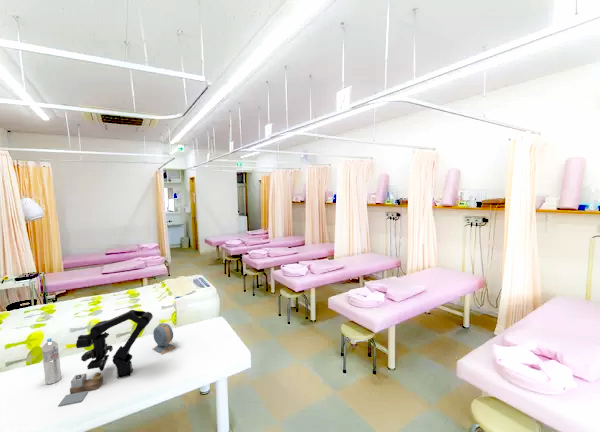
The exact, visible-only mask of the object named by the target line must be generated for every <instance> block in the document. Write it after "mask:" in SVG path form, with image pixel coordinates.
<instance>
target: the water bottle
mask: <svg viewBox="0 0 600 432" xmlns="http://www.w3.org/2000/svg"><path fill="white" fill-rule="evenodd" d="M41 352H42V360H43V362H42V363H43V372H44V380H45V381H44V382H45V384H46V385H53V384H55V383H57V382H59V381H60V380H61V379H62V369H61V361H60V360H61V359H60V354H59V353H60V352H59V343H58V342H56V341H54V340H52V338H48V339H46V342H45V343H44V345H43V346H42V347H41Z"/></svg>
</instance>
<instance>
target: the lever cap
mask: <svg viewBox="0 0 600 432" xmlns="http://www.w3.org/2000/svg"><path fill="white" fill-rule="evenodd" d="M87 380H88V379H87V373H81V374H80V373H79V374H75V375H74V376H73V378H72V379H71V380H70V388H76V387H81V386H83V385H84V383H85V382H86V381H87Z"/></svg>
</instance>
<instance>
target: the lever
mask: <svg viewBox="0 0 600 432" xmlns="http://www.w3.org/2000/svg"><path fill="white" fill-rule="evenodd" d="M101 377H103V376H102V372H95V373H94V375H93V376H92V379H93V381H98V380H100V379H101Z"/></svg>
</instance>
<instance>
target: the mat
mask: <svg viewBox="0 0 600 432" xmlns="http://www.w3.org/2000/svg"><path fill="white" fill-rule="evenodd" d="M88 393H89V391H84V392H79V393H74V394H70V393H69V394H66V395H65V396H64V397H63V398H62V400H61V401H60V403H59V404H58V405H57V407H63V406H69V405H73V404H77V403H82V402H83V401H84V400H85V398H86V396H87V395H88Z"/></svg>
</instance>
